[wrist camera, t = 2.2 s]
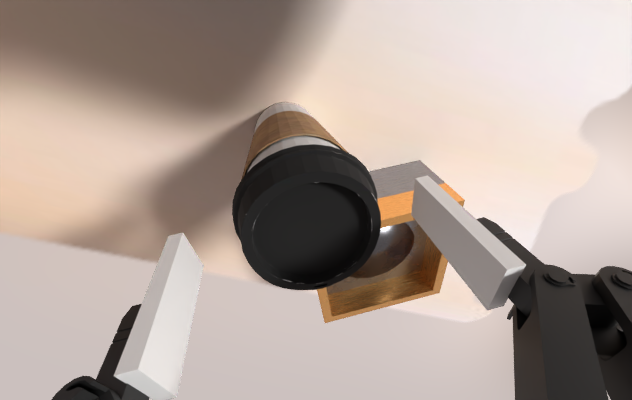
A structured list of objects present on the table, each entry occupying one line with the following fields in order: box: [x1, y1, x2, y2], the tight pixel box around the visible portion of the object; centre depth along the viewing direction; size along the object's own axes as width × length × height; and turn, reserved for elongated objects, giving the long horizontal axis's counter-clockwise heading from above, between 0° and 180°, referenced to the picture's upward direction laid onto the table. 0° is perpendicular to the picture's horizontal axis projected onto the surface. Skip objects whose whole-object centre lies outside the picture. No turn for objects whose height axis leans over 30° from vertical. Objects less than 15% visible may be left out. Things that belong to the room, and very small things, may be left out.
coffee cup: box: [232, 102, 381, 290], centre depth 19 cm, size 8×8×15 cm
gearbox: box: [317, 161, 465, 323], centre depth 31 cm, size 15×15×8 cm
